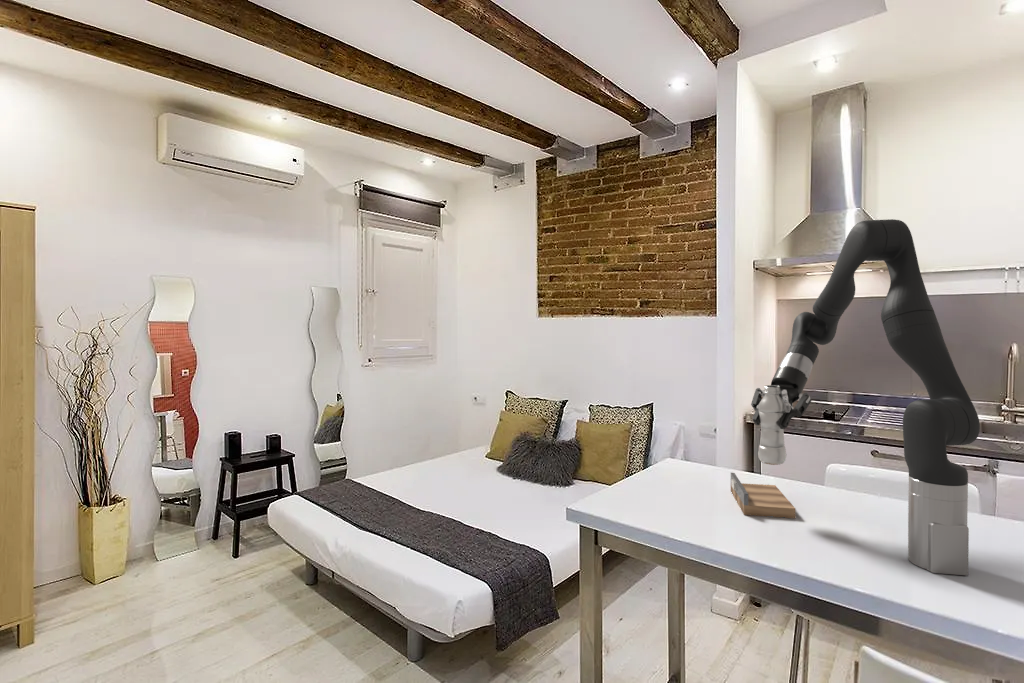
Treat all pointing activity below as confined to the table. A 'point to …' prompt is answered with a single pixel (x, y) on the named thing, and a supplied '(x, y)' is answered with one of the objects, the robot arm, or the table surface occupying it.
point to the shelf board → (765, 501)
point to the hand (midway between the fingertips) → (768, 425)
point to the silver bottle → (771, 427)
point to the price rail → (739, 489)
